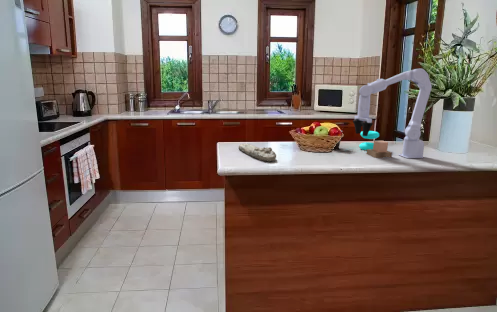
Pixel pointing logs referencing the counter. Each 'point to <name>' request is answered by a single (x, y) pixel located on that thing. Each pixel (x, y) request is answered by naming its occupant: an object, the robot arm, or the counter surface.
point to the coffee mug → (337, 145)
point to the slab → (378, 153)
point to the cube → (380, 146)
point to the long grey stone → (258, 152)
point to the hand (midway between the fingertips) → (361, 134)
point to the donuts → (370, 136)
